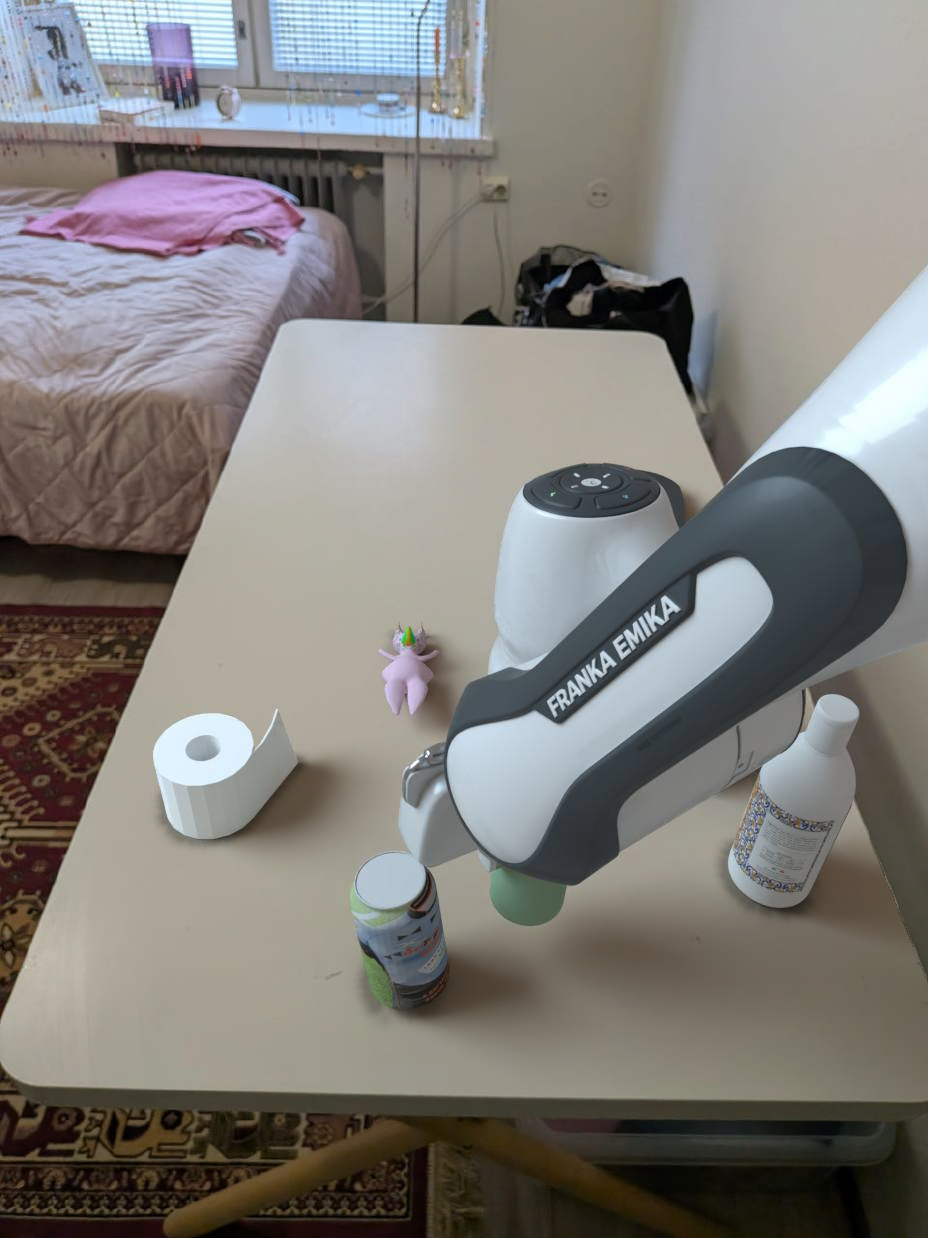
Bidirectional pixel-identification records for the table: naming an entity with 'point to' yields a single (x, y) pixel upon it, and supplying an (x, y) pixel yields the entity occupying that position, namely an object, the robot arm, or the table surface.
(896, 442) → the robot arm
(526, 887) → the bottle
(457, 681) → the table surface
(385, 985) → the beverage can
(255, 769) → the toilet paper
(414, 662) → the pink toy figurine
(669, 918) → the table surface
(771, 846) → the bath foam
